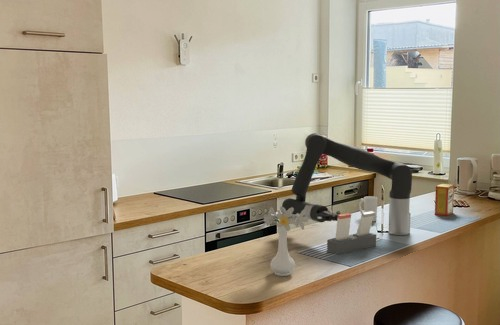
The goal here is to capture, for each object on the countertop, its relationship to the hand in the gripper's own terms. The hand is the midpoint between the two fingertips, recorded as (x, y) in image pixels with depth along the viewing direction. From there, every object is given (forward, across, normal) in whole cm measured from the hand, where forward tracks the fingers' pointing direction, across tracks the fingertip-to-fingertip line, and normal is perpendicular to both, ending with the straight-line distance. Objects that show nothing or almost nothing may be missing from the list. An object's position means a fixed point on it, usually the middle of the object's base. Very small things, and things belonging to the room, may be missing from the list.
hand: (342, 219), depth 239 cm
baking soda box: (-21, +94, +14) cm, 97 cm away
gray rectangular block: (0, +6, +14) cm, 15 cm away
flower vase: (+9, -38, +14) cm, 41 cm away
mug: (-35, +50, +13) cm, 62 cm away
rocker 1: (0, 0, +9) cm, 9 cm away
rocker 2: (0, +12, +9) cm, 15 cm away
